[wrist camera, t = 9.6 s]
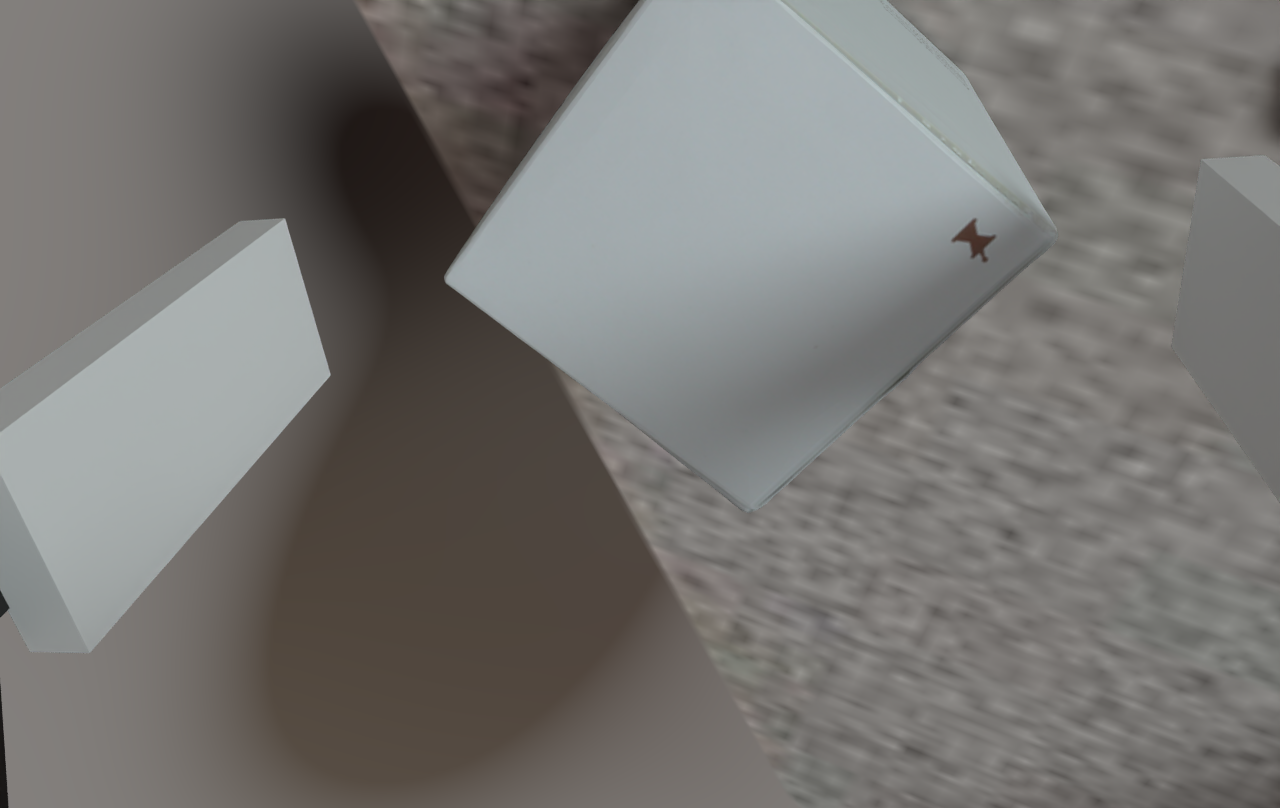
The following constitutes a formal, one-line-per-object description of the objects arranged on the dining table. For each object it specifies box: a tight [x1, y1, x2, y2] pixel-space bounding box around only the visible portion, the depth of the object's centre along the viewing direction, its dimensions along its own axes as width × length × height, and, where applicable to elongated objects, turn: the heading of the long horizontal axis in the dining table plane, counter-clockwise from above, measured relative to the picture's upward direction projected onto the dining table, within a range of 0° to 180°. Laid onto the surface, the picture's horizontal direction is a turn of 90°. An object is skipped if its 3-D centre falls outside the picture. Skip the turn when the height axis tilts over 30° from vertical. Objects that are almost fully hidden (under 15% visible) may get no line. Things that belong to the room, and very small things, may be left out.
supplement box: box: [444, 0, 1058, 513], centre depth 22 cm, size 7×7×13 cm
